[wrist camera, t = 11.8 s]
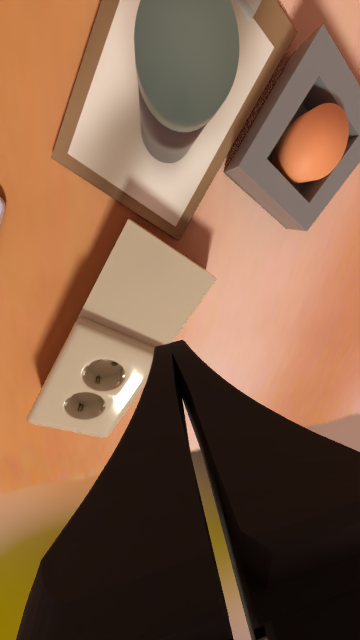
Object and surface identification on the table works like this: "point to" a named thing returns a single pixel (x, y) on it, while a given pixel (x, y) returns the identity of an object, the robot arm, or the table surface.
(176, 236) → the clipboard
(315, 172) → the button
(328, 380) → the table surface
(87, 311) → the electrical outlet
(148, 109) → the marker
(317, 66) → the grey egg holder
